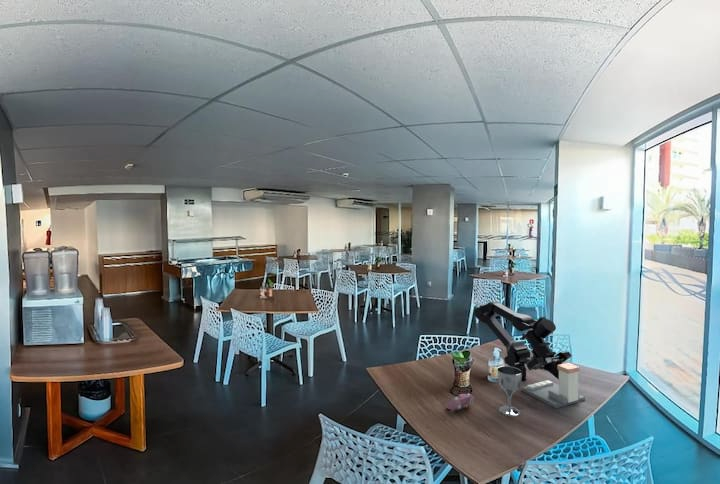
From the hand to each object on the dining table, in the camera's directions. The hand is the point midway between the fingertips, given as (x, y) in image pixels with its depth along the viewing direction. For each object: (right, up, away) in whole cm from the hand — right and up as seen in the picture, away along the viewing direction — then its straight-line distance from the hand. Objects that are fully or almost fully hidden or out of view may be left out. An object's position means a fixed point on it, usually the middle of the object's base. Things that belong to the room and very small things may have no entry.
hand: (562, 381), depth 136 cm
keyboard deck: (-2, -7, +5) cm, 9 cm away
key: (+1, -6, -2) cm, 6 cm away
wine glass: (-23, -8, -7) cm, 25 cm away
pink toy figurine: (-40, -9, -4) cm, 41 cm away
